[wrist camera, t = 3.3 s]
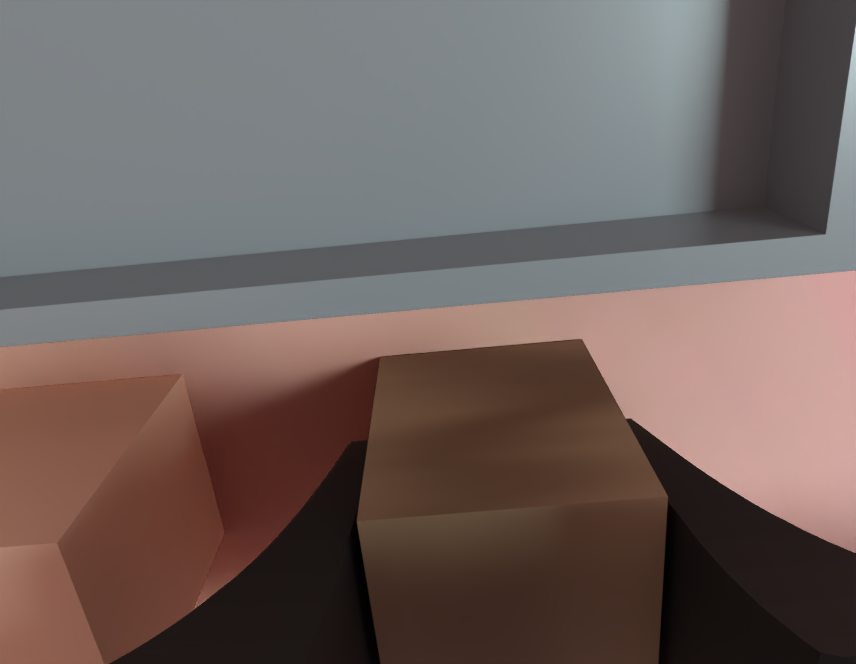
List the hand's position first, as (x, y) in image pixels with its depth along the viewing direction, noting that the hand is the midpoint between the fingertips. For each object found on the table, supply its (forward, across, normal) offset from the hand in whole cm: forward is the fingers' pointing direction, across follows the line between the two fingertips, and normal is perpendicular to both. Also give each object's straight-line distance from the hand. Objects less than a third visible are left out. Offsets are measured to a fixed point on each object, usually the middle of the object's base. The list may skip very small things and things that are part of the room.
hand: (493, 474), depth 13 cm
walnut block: (+1, 0, 0) cm, 1 cm away
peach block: (+2, +8, 0) cm, 8 cm away
